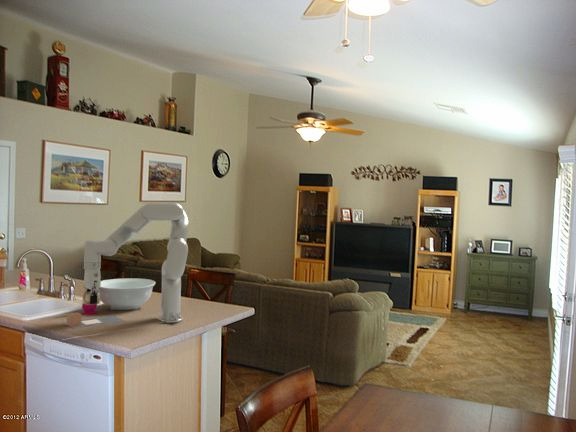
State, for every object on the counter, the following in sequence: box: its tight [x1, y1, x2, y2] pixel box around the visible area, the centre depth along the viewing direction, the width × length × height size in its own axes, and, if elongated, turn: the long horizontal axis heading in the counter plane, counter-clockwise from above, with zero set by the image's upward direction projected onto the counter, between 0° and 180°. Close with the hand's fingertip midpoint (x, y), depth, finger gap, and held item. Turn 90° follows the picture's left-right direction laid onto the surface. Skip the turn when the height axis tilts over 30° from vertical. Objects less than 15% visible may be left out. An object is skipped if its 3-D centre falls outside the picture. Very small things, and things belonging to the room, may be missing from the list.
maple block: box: [81, 291, 101, 305], centre depth 234 cm, size 6×6×5 cm
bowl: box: [98, 277, 156, 311], centre depth 269 cm, size 32×32×15 cm
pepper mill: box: [81, 288, 98, 315], centre depth 252 cm, size 7×7×20 cm
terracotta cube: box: [66, 312, 83, 327], centre depth 229 cm, size 5×5×5 cm
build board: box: [62, 315, 125, 330], centre depth 235 cm, size 14×25×1 cm, turn 132°
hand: (91, 302), depth 234 cm, fingers closed on maple block, 6 cm apart
